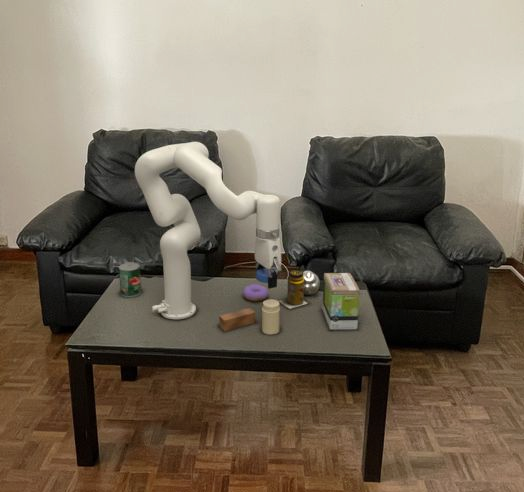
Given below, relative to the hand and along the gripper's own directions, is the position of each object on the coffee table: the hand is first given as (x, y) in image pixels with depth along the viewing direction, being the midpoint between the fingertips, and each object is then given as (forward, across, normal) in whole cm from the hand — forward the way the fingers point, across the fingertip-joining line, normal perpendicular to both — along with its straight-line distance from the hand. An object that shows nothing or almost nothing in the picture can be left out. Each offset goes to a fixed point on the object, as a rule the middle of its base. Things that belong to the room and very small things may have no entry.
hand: (266, 282), depth 183 cm
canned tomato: (+18, +50, +31) cm, 62 cm away
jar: (+17, -2, -1) cm, 17 cm away
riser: (+17, +8, +7) cm, 20 cm away
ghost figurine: (+17, +14, -28) cm, 36 cm away
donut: (+17, +22, -9) cm, 30 cm away
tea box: (+17, -8, -26) cm, 32 cm away
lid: (-3, 0, 0) cm, 3 cm away
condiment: (+17, +12, -19) cm, 28 cm away
